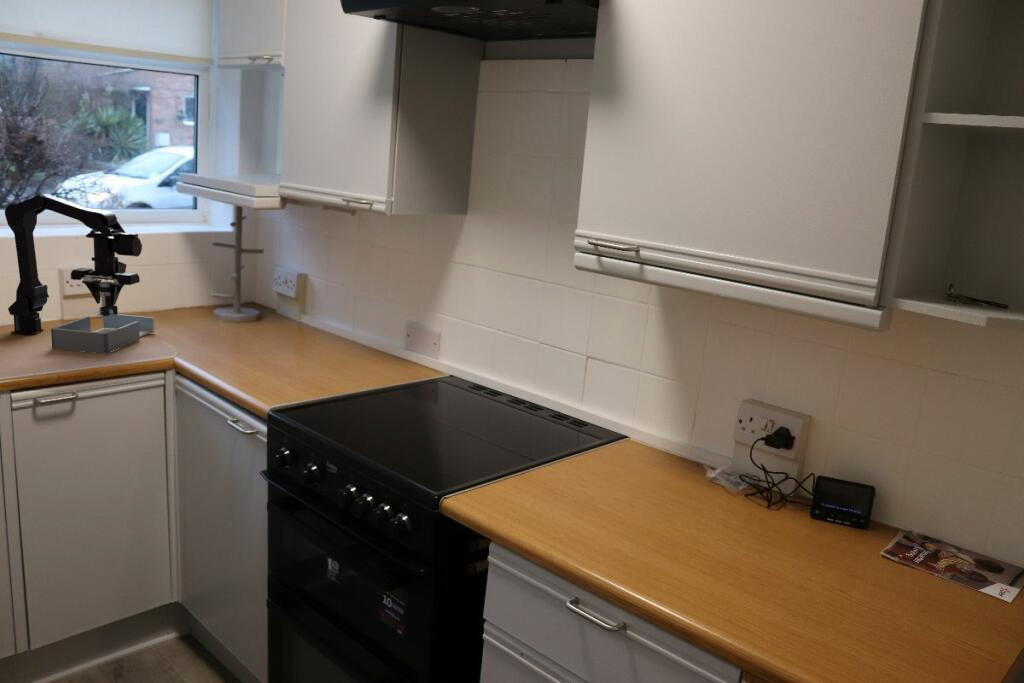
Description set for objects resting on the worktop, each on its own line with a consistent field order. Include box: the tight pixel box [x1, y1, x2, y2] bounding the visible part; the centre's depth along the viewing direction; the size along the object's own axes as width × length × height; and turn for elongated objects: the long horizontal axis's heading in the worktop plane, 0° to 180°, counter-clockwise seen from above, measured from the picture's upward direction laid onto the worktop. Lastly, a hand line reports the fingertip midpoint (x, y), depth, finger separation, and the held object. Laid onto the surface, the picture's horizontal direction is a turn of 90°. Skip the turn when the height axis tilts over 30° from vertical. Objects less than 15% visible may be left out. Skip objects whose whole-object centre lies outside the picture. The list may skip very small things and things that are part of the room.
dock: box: [50, 315, 141, 354], centre depth 244 cm, size 18×17×6 cm
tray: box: [93, 313, 155, 338], centre depth 253 cm, size 18×16×5 cm
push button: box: [97, 281, 119, 317], centre depth 247 cm, size 7×5×10 cm
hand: (106, 304), depth 247 cm, fingers closed on push button, 4 cm apart
